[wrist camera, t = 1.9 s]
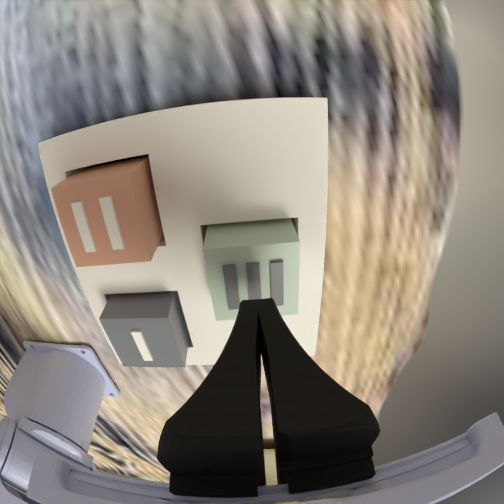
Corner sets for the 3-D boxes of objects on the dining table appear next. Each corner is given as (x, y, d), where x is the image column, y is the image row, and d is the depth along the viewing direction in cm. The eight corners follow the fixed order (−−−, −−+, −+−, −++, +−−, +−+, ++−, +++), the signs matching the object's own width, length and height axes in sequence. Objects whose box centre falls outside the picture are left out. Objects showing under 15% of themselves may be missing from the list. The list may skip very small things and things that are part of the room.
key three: (218, 287, 18) (215, 323, 15) (208, 221, 16) (202, 251, 13) (289, 281, 18) (298, 316, 15) (289, 215, 16) (300, 243, 13)
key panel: (127, 341, 23) (120, 363, 20) (60, 134, 14) (37, 143, 12) (308, 332, 23) (314, 355, 20) (314, 97, 14) (327, 98, 12)
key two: (97, 240, 16) (74, 269, 13) (78, 170, 14) (48, 189, 11) (163, 233, 16) (149, 263, 13) (149, 156, 14) (128, 172, 11)
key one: (133, 335, 20) (123, 368, 17) (114, 288, 18) (97, 321, 15) (190, 334, 20) (184, 369, 17) (176, 284, 18) (167, 320, 15)
